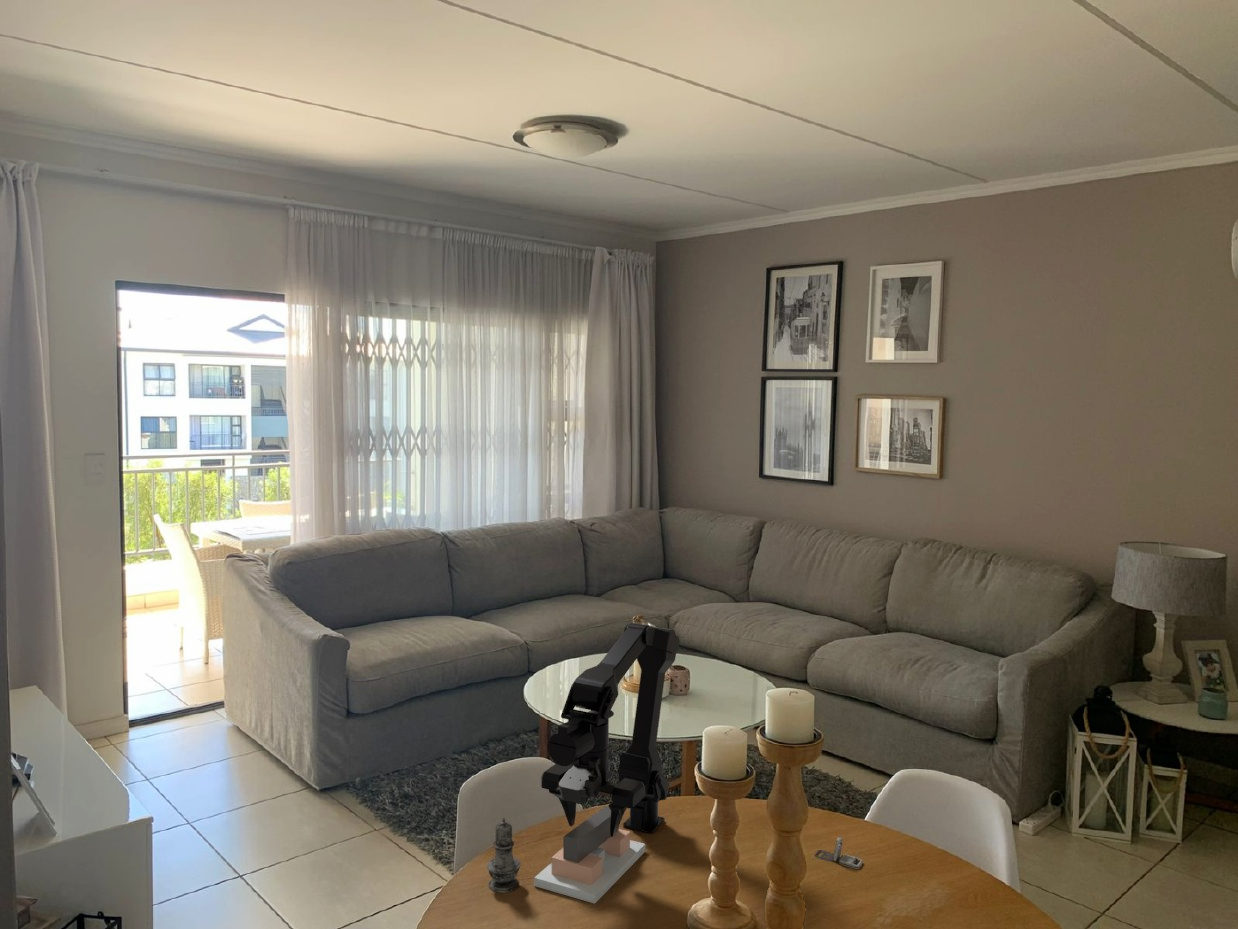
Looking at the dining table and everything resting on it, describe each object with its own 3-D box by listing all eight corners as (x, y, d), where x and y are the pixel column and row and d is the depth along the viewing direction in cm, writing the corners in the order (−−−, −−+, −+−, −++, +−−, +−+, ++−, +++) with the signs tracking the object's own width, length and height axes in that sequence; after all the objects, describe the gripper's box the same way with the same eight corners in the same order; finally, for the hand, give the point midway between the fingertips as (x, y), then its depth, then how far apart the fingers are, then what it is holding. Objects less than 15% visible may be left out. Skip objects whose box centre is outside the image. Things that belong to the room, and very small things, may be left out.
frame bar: (604, 826, 171) (605, 806, 171) (618, 830, 170) (618, 810, 170) (563, 858, 159) (563, 836, 159) (577, 863, 158) (577, 841, 158)
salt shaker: (514, 895, 156) (514, 827, 155) (482, 891, 157) (481, 824, 156) (525, 877, 162) (525, 812, 161) (493, 874, 163) (493, 809, 162)
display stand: (589, 837, 177) (589, 814, 176) (645, 851, 171) (645, 828, 171) (534, 886, 159) (534, 861, 158) (594, 903, 153) (594, 878, 153)
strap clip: (863, 864, 168) (864, 842, 168) (858, 871, 165) (859, 848, 165) (819, 852, 172) (819, 830, 172) (813, 858, 170) (813, 836, 169)
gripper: (524, 752, 160) (524, 838, 162) (618, 773, 152) (617, 863, 153) (556, 732, 170) (556, 813, 171) (647, 750, 162) (646, 835, 163)
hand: (592, 830), depth 164 cm, fingers open, 8 cm apart
